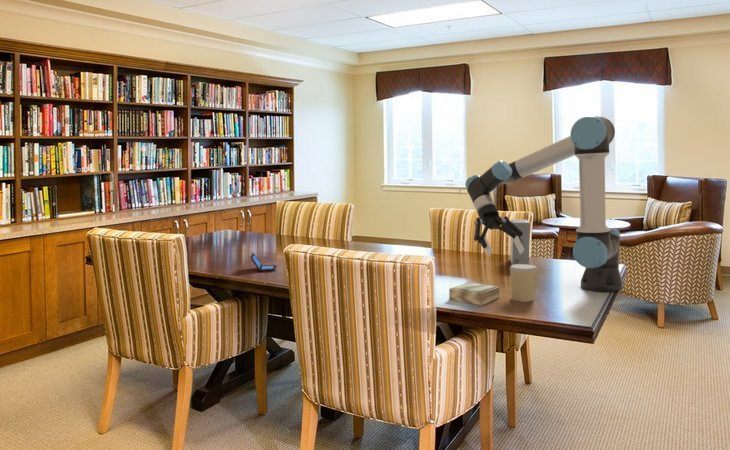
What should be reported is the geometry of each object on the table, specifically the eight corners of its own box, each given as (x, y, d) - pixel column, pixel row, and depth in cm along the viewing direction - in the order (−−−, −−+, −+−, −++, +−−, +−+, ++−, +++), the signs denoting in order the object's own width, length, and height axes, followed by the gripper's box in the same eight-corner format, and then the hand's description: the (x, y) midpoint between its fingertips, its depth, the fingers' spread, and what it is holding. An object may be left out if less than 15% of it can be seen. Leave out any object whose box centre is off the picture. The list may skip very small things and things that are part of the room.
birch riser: (499, 297, 215) (499, 286, 215) (481, 305, 206) (481, 293, 205) (468, 292, 224) (468, 281, 223) (449, 299, 214) (449, 287, 214)
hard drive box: (529, 265, 272) (529, 222, 270) (512, 265, 274) (512, 222, 271) (526, 259, 287) (526, 218, 285) (509, 259, 289) (510, 218, 286)
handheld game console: (274, 272, 268) (274, 256, 267) (250, 273, 267) (250, 257, 266) (276, 267, 281) (276, 251, 280) (253, 267, 280) (252, 252, 279)
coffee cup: (539, 297, 215) (540, 265, 213) (531, 303, 207) (532, 269, 205) (514, 294, 220) (514, 262, 218) (505, 300, 212) (506, 267, 210)
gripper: (509, 213, 241) (530, 256, 228) (454, 216, 232) (473, 261, 220) (517, 201, 235) (539, 244, 223) (461, 204, 227) (480, 249, 215)
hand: (506, 253), depth 222 cm, fingers open, 13 cm apart
